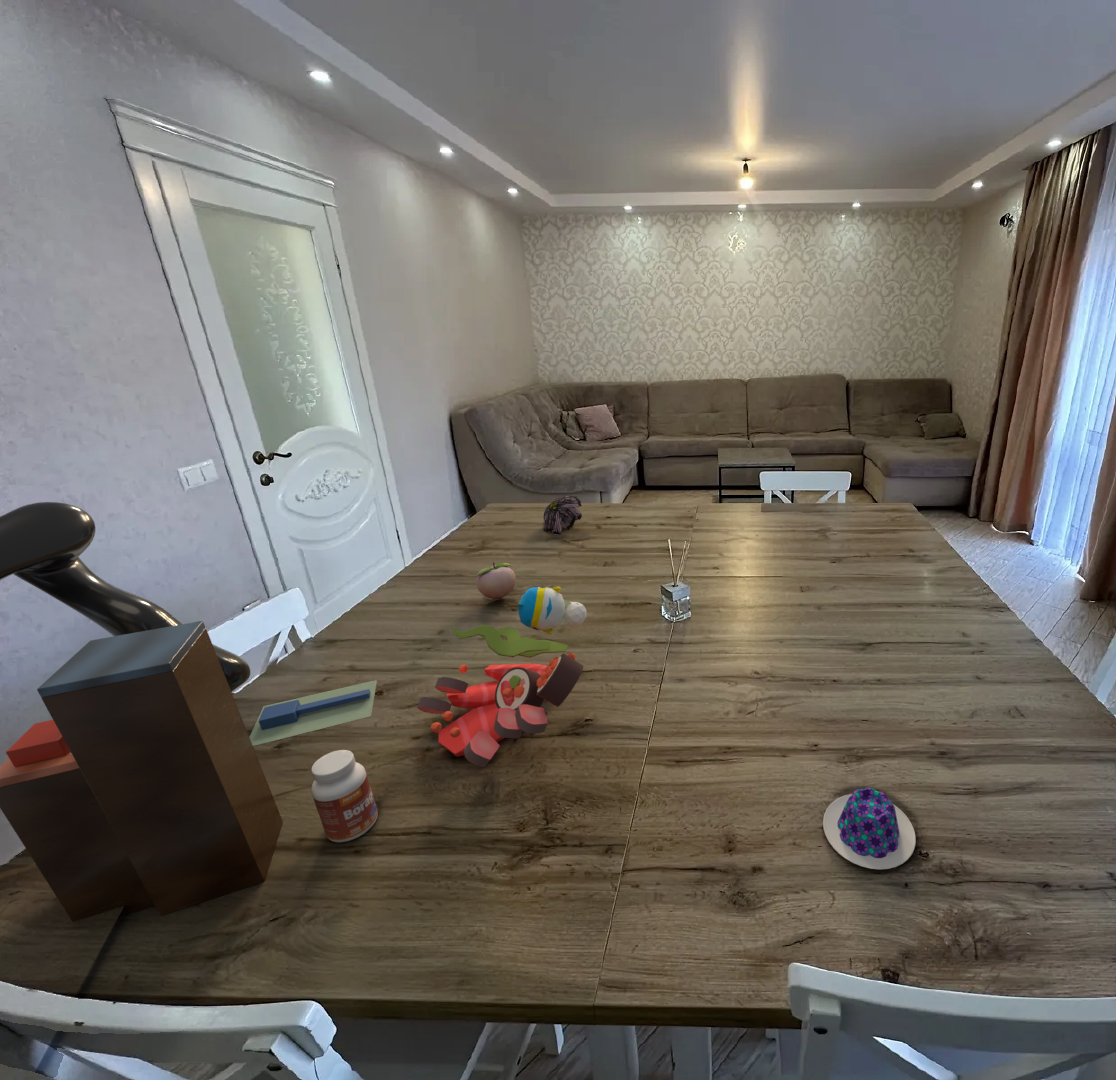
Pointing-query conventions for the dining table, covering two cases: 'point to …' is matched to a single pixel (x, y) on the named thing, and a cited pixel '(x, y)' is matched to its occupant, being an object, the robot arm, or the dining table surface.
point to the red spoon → (38, 744)
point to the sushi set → (509, 681)
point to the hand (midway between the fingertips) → (76, 695)
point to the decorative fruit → (496, 581)
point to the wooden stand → (144, 780)
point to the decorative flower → (561, 514)
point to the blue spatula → (304, 709)
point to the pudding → (869, 830)
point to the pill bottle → (343, 796)
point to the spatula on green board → (318, 714)
